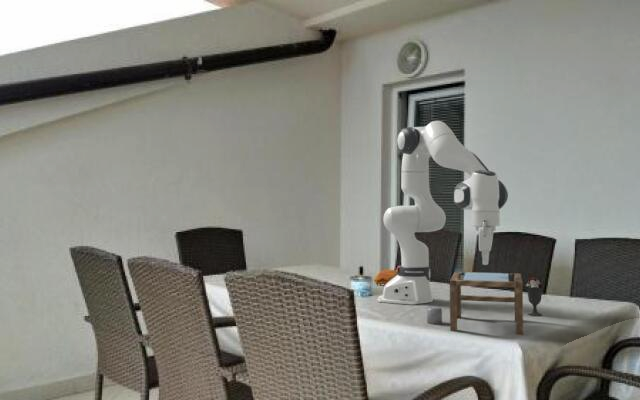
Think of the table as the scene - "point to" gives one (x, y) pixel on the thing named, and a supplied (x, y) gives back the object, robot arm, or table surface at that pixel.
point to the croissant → (385, 276)
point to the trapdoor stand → (485, 297)
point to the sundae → (534, 294)
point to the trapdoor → (486, 276)
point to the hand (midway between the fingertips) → (485, 263)
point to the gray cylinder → (434, 315)
